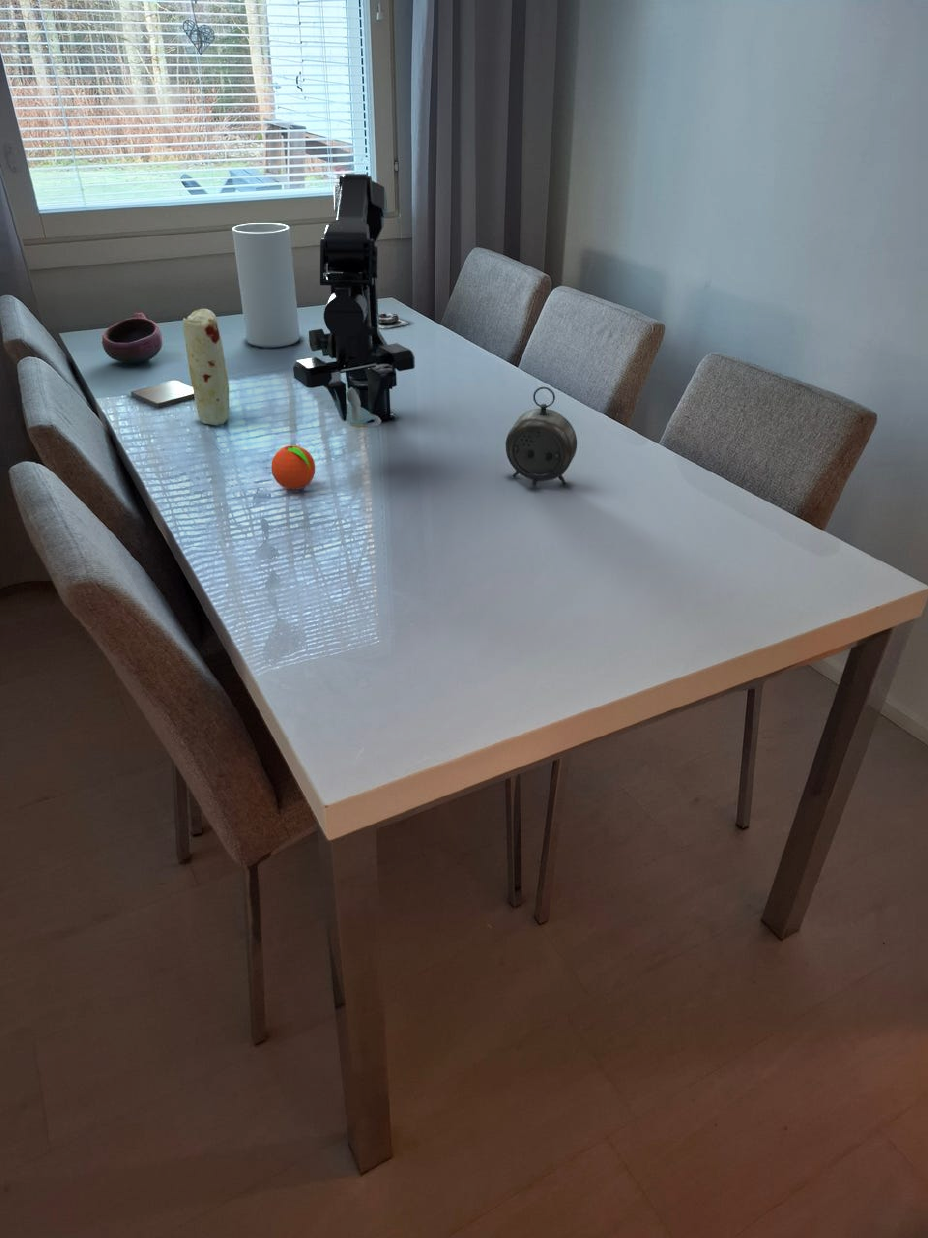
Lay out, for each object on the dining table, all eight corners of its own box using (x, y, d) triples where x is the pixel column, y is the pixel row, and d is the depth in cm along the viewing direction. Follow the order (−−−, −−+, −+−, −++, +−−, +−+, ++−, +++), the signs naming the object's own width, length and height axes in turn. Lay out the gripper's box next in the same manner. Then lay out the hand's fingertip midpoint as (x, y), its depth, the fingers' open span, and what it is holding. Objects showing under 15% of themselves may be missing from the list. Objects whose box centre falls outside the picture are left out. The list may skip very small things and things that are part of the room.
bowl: (173, 363, 192) (167, 326, 188) (114, 373, 186) (106, 335, 182) (152, 345, 204) (145, 310, 199) (96, 354, 198) (87, 318, 193)
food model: (236, 427, 161) (220, 317, 150) (199, 431, 159) (181, 320, 148) (231, 409, 169) (216, 303, 158) (196, 412, 167) (178, 305, 156)
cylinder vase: (295, 348, 202) (283, 233, 188) (241, 348, 202) (226, 232, 188) (304, 333, 212) (293, 223, 198) (253, 333, 212) (239, 222, 199)
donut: (365, 321, 222) (364, 313, 220) (389, 316, 226) (389, 308, 225) (383, 328, 216) (383, 320, 215) (409, 323, 220) (408, 315, 219)
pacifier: (367, 414, 146) (335, 419, 143) (366, 377, 142) (333, 382, 139) (388, 427, 141) (355, 434, 138) (388, 390, 137) (354, 395, 134)
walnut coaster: (175, 384, 181) (174, 379, 180) (202, 395, 175) (201, 390, 175) (131, 396, 175) (130, 391, 174) (158, 408, 169) (157, 403, 169)
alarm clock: (574, 482, 142) (582, 385, 133) (566, 495, 138) (574, 396, 129) (510, 472, 145) (514, 377, 136) (501, 485, 141) (504, 387, 132)
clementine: (330, 489, 139) (326, 447, 135) (295, 503, 135) (291, 460, 131) (299, 474, 144) (295, 434, 140) (264, 487, 140) (259, 446, 136)
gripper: (381, 299, 142) (385, 392, 151) (274, 315, 134) (285, 412, 142) (415, 315, 134) (417, 412, 143) (303, 332, 126) (313, 434, 134)
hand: (358, 417), depth 141 cm, fingers closed on pacifier, 5 cm apart
